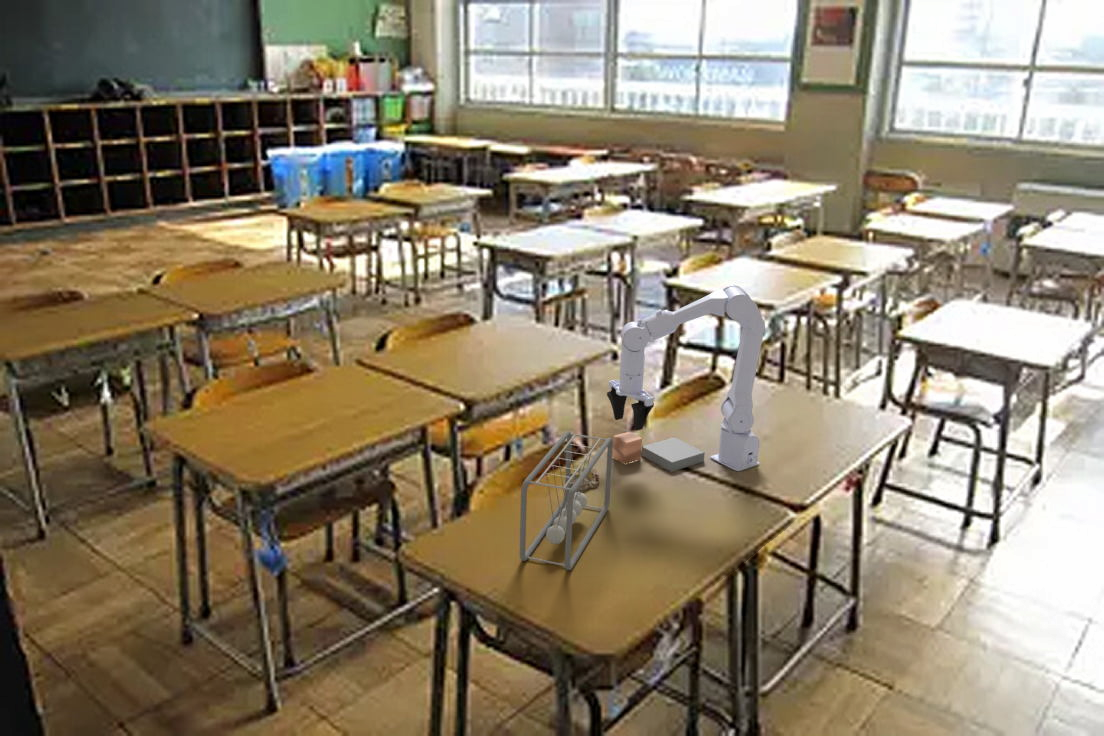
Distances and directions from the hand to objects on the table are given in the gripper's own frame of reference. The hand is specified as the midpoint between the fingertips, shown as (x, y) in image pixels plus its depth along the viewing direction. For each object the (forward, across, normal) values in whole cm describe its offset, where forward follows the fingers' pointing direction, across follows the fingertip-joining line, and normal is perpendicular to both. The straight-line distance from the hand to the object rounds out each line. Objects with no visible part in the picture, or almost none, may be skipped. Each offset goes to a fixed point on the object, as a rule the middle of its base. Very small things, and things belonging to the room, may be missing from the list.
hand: (628, 424), depth 229 cm
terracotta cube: (+10, 0, 0) cm, 10 cm away
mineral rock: (+10, +5, -18) cm, 21 cm away
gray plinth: (+9, +6, +10) cm, 15 cm away
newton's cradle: (+10, +22, -35) cm, 42 cm away
